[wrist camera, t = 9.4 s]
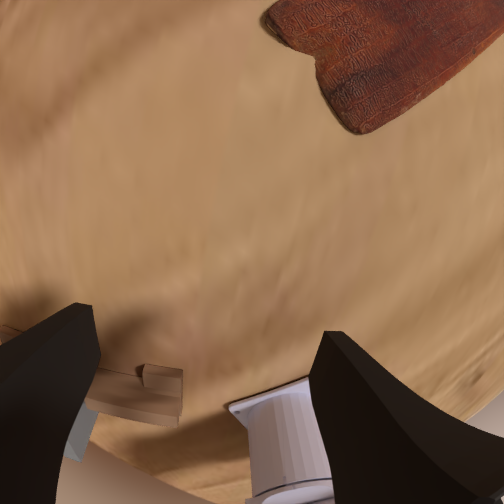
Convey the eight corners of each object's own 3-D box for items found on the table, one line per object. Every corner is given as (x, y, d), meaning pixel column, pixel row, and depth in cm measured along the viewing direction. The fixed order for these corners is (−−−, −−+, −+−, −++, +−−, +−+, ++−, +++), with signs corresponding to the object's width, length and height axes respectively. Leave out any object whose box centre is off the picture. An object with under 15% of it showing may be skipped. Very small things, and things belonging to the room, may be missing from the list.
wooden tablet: (355, 146, 16) (366, 147, 15) (250, 20, 13) (252, 9, 12) (521, 26, 11) (532, 24, 10) (465, -55, 8) (474, -60, 6)
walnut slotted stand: (182, 369, 21) (176, 403, 18) (182, 407, 23) (178, 438, 20) (2, 325, 19) (-16, 346, 16) (17, 364, 21) (2, 385, 18)
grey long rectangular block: (101, 406, 23) (81, 462, 16) (86, 402, 23) (65, 456, 16) (80, 326, 19) (41, 389, 13) (64, 322, 19) (22, 382, 13)
